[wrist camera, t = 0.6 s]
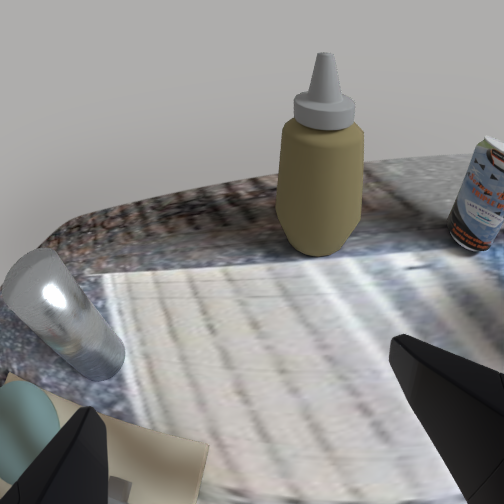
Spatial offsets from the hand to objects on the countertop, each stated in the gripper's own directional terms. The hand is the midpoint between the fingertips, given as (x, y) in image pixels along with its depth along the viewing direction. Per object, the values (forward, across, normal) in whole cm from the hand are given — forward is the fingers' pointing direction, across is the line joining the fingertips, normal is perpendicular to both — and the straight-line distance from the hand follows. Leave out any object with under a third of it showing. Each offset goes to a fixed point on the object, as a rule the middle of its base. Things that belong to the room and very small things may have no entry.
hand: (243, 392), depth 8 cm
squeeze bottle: (+23, -10, +6) cm, 25 cm away
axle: (+15, +12, +9) cm, 21 cm away
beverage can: (+18, -27, +8) cm, 34 cm away
